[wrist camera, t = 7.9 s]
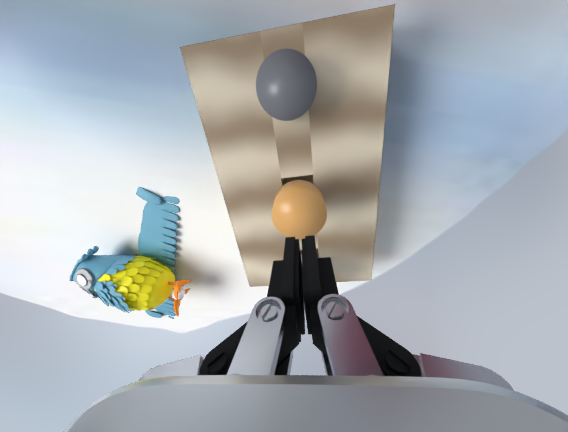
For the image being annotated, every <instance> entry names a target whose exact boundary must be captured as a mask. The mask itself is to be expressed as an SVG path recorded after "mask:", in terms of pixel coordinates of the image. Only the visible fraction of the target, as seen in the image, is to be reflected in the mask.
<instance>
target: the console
mask: <svg viewBox="0 0 568 432" xmlns="http://www.w3.org/2000/svg"><path fill="white" fill-rule="evenodd" d="M394 8H395V4H394V5H389V6H384V7H379V8H374V9H369V10H364V11H358V12H353V13H348V14H343V15H338V16H333V17H328V18H323V19H318V20H313V21H308V22H303V23H298V24H293V25H288V26H283V27H278V28H273V29H268V30H263V31H258V32H253V33H248V34H243V35H238V36H233V37H228V38H223V39H218V40H213V41H208V42H203V43H198V44H193V45H188V46H183V47H180V49H181V52H182V56H183V59H184V63H185V66H186V70H187V73H188V76H189V80H190V83H191V87H192V90H193V94H194V97H195V100H196V104H197V107H198V111H199V114H200V118H201V121H202V124H203V128H204V131H205V135H206V138H207V142H208V145H209V148H210V152H211V155H212V159H213V162H214V166H215V169H216V172H217V176H218V179H219V183H220V186H221V190H222V193H223V196H224V200H225V203H226V207H227V210H228V214H229V217H230V220H231V224H232V227H233V231H234V234H235V238H236V241H237V244H238V248H239V251H240V255H241V258H242V262H243V265H244V268H245V272H246V275H247V279H248V282H249V286H250V287H252V286H269V283H270V277H271V271H272V265H273V261H276V260H283V256H284V247H285V238H286V237H287V236H285V235H283V234H282V233H280V232H279V231H278V230H277V229H276V227H275V226H274V224H273V221H272V216H271V214H272V208H273V204H274V200H275V196H276V194H277V192H278V190H279V189H280V188H281V187H282V186H283V185H284V184H286V183H288V182H290V181H294V180H304V181H308V182H310V183H312V184H314V185H315V186H316V187H317V188H318V189H319V190H320V192H321V193H322V196H323V199H324V203H325V206H326V210H327V219H326V222H325V225H324V226H323V228H322V229H321V230H320V231H319V232H318V233H317V234H315V243H316V251H317V258H324V257H331V261H332V266H333V271H334V275H335V280H336V282H346V281H365V280H371V279H372V267H373V255H374V243H375V232H376V220H377V208H378V196H379V185H380V173H381V161H382V149H383V138H384V126H385V114H386V102H387V91H388V79H389V67H390V55H391V44H392V32H393V20H394ZM286 48H287V49H294V50H297V51H299V52H301V53H302V54H304V55H305V56H306V57H307V58H308V59H309V61H310V62H311V64H312V65H313V67H314V70H315V73H316V77H317V91H316V96H315V99H314V101H313V103H312V105H311V107H310V108H309V109H308V111H307V112H306V113H305V114H304V115H302V116H301V117H299V118H297V119H294V120H291V121H282V120H278V119H275V118H273V117H272V116H270V115H269V114H268V113H267V112H266V111H265V110H264V109H263V107H262V106H261V104H260V102H259V100H258V97H257V92H256V78H257V73H258V70H259V68H260V66H261V64H262V63H263V61H264V60H265V59H266V57H268V56H269V55H270V54H271V53H273V52H275V51H277V50H280V49H286ZM299 244H300V252H302V239H299Z"/></svg>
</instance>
